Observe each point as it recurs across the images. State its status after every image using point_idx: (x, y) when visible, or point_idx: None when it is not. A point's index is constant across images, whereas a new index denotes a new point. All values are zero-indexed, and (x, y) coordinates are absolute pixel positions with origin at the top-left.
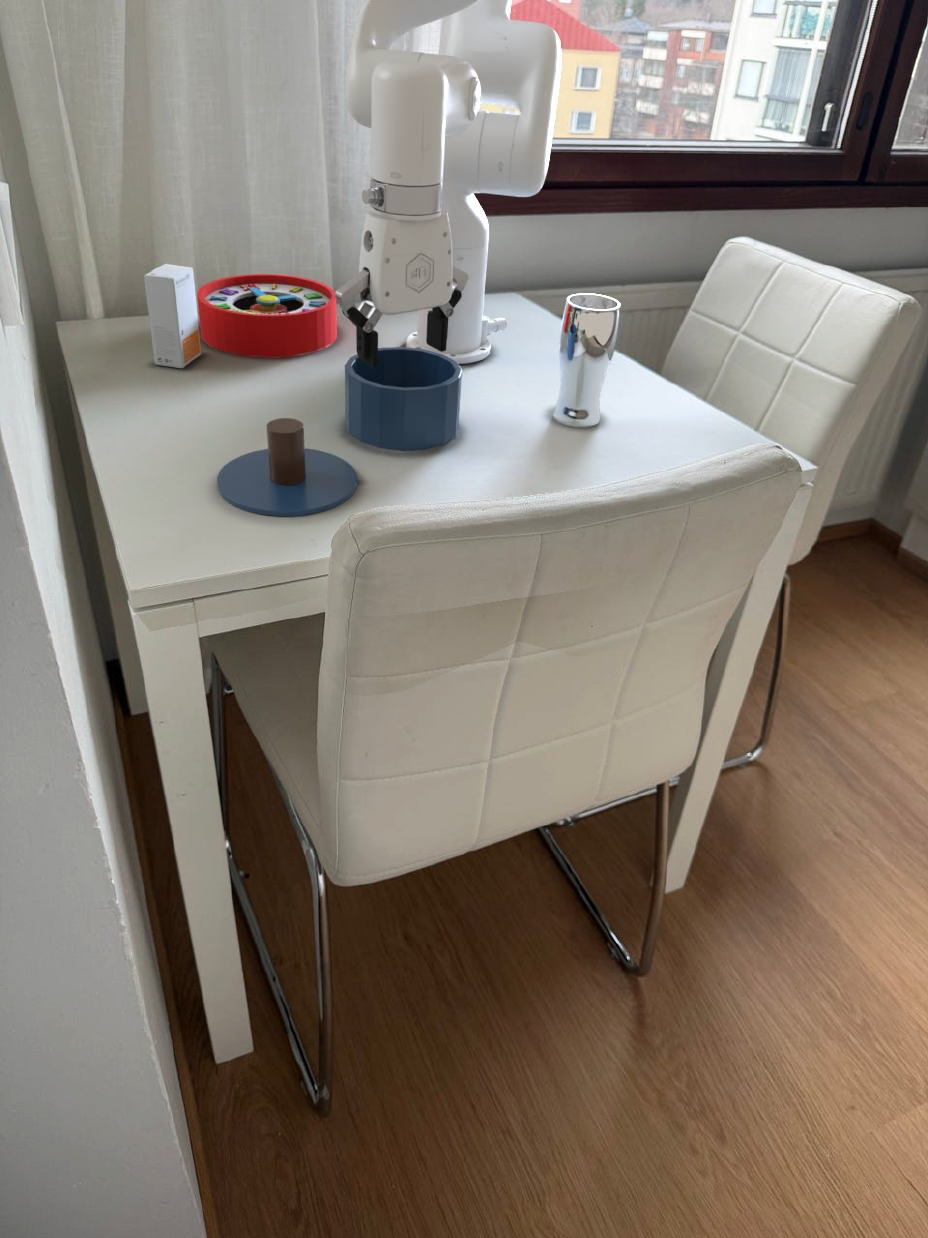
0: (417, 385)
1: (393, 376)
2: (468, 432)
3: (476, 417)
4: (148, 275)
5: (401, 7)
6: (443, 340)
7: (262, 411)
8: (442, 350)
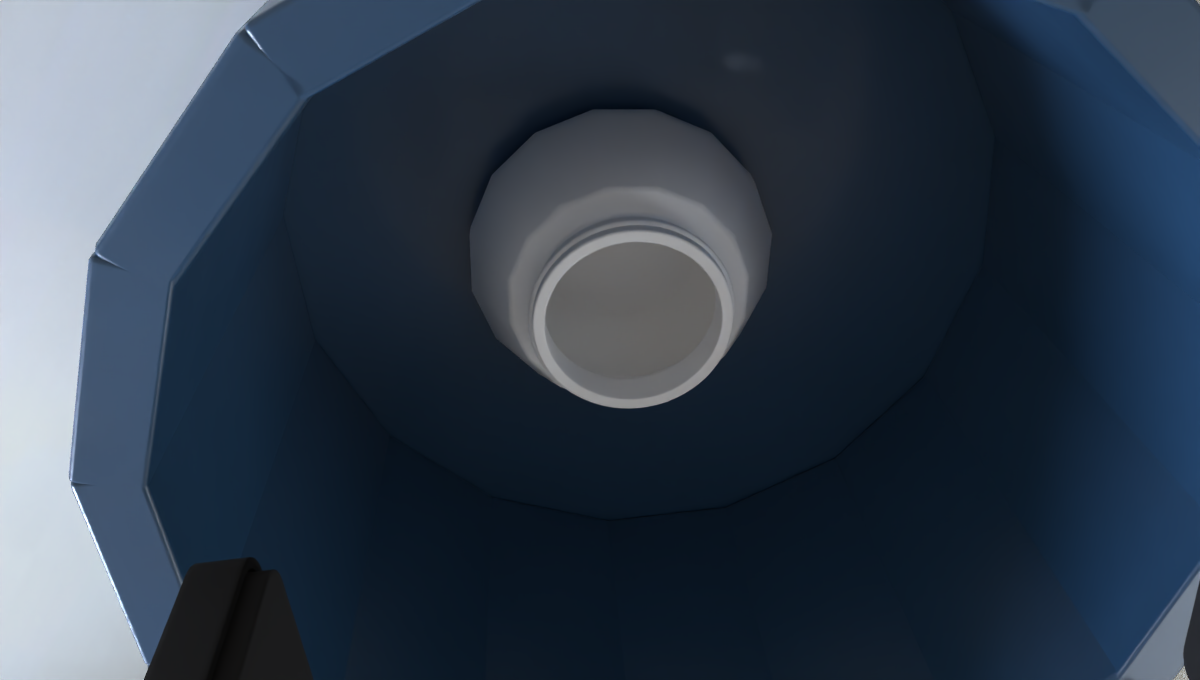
0: (393, 550)
1: (553, 658)
2: (183, 11)
3: (17, 220)
4: None
5: None
6: (210, 656)
7: (1180, 676)
8: (247, 562)
